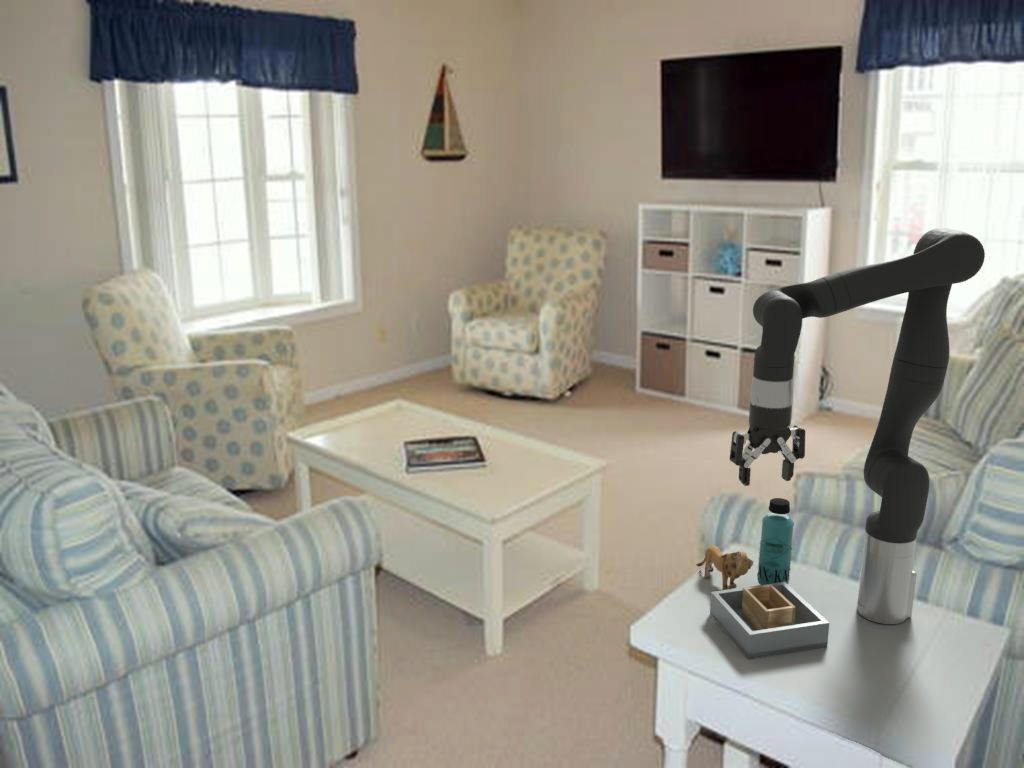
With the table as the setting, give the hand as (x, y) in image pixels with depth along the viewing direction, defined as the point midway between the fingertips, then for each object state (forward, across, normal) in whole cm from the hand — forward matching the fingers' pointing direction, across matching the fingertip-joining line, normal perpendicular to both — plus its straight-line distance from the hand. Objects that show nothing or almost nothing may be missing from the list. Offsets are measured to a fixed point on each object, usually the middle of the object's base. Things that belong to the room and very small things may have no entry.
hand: (765, 481), depth 173 cm
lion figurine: (+28, 0, -14) cm, 32 cm away
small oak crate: (+27, +1, +6) cm, 28 cm away
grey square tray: (+28, +1, +6) cm, 29 cm away
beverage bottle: (+28, -8, -8) cm, 30 cm away
